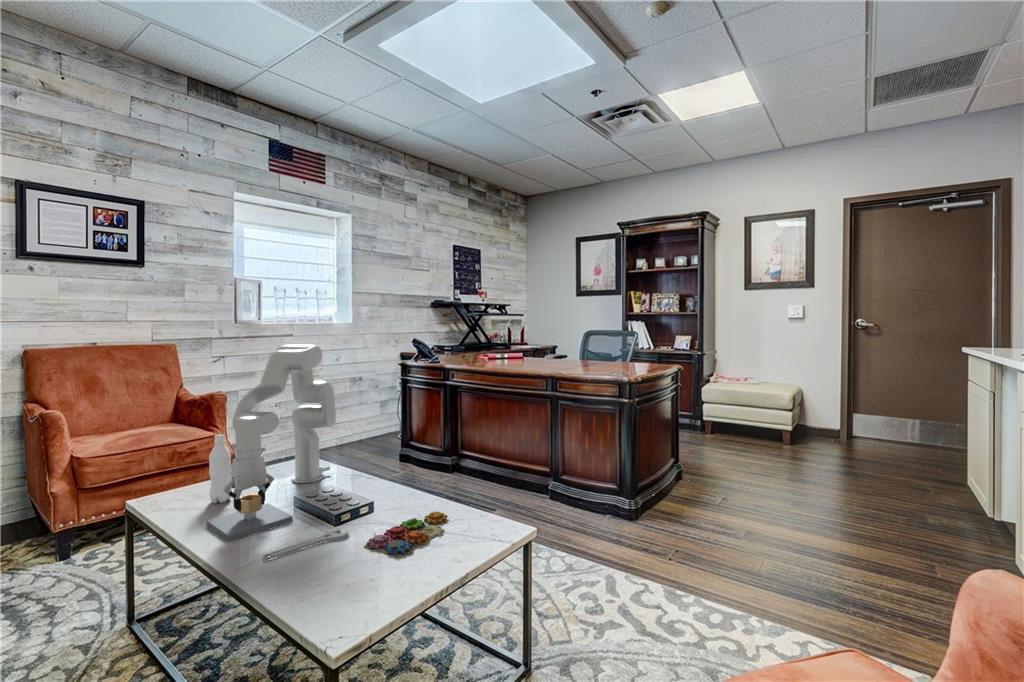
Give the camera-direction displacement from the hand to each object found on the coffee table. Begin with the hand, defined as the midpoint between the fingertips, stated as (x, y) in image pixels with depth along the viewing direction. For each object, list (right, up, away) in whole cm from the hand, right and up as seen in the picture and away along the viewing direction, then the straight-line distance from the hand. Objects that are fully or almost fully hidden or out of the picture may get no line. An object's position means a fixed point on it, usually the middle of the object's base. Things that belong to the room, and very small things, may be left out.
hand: (249, 506), depth 167 cm
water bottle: (-22, -5, +21) cm, 31 cm away
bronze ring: (0, -1, 0) cm, 1 cm away
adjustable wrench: (+25, -7, -15) cm, 30 cm away
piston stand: (0, -6, 0) cm, 6 cm away
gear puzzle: (+57, -7, -7) cm, 57 cm away
